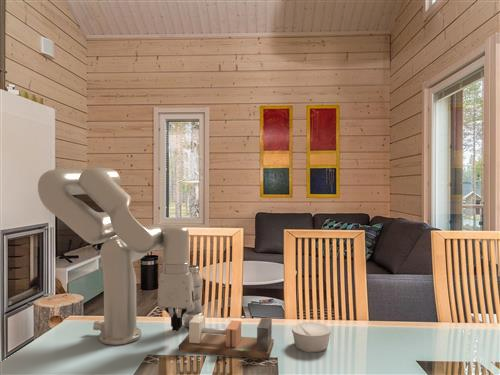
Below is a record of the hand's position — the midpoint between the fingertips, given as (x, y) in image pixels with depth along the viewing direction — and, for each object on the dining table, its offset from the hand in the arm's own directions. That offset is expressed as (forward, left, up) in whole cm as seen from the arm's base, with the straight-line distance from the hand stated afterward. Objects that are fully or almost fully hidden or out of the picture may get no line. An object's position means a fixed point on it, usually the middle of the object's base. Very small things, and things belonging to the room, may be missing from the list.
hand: (176, 329), depth 124 cm
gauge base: (+15, 0, -4) cm, 16 cm away
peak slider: (+17, -1, -2) cm, 18 cm away
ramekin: (+39, +6, -5) cm, 40 cm away
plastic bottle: (0, +14, -4) cm, 15 cm away
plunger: (+10, 0, -2) cm, 10 cm away
